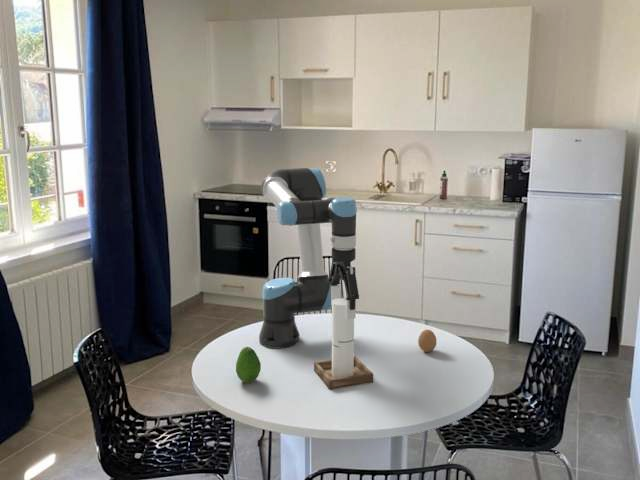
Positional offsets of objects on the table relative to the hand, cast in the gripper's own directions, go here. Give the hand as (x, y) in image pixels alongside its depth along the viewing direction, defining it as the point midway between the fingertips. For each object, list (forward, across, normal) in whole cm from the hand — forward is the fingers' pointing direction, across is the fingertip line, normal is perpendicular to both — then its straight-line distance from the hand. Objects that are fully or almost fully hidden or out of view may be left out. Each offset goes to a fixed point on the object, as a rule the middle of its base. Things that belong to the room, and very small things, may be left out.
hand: (342, 311), depth 208 cm
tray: (+22, +1, 0) cm, 22 cm away
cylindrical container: (+22, +1, 0) cm, 22 cm away
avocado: (+23, -6, -30) cm, 38 cm away
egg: (+23, -8, +36) cm, 43 cm away
